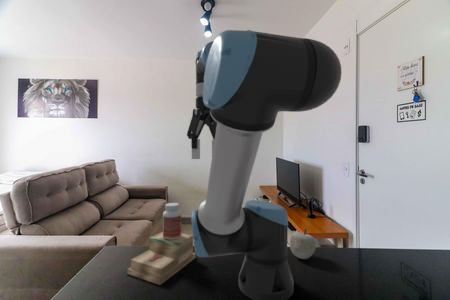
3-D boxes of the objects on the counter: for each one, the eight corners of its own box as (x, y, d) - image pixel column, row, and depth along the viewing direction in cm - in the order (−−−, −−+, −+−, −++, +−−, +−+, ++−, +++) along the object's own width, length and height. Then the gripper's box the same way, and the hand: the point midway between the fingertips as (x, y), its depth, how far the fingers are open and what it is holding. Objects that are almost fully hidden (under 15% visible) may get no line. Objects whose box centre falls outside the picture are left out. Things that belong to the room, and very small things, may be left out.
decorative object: (287, 260, 81) (287, 231, 80) (292, 250, 89) (292, 223, 88) (314, 266, 77) (315, 235, 77) (317, 254, 85) (317, 227, 84)
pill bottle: (184, 237, 79) (184, 205, 79) (166, 241, 76) (166, 207, 76) (177, 232, 84) (177, 201, 84) (160, 235, 81) (160, 203, 81)
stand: (195, 257, 82) (195, 234, 82) (160, 285, 66) (160, 256, 66) (166, 250, 88) (166, 228, 88) (127, 273, 72) (126, 247, 71)
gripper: (214, 103, 95) (213, 156, 96) (175, 91, 73) (175, 159, 73) (231, 102, 92) (230, 156, 92) (196, 88, 70) (196, 160, 70)
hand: (206, 158), depth 83 cm, fingers open, 13 cm apart
